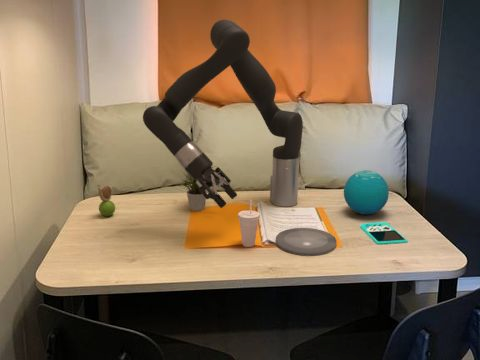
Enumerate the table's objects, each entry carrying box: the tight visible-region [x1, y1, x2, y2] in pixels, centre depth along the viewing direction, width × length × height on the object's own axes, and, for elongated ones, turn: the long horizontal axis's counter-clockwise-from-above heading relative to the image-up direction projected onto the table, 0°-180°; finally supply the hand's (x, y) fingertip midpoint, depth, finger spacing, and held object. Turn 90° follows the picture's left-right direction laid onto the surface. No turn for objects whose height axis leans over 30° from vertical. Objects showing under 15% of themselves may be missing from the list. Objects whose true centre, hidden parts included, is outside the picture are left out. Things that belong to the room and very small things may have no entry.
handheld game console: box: [359, 221, 409, 246], centre depth 173 cm, size 10×16×1 cm, turn 9°
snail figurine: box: [96, 184, 116, 217], centre depth 185 cm, size 5×6×12 cm
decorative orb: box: [343, 169, 390, 215], centre depth 188 cm, size 15×15×15 cm
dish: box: [275, 227, 337, 257], centre depth 166 cm, size 18×18×1 cm
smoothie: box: [237, 199, 261, 248], centre depth 163 cm, size 6×6×14 cm
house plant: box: [177, 165, 217, 212], centre depth 192 cm, size 14×14×16 cm
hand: (229, 201), depth 163 cm, fingers open, 8 cm apart
